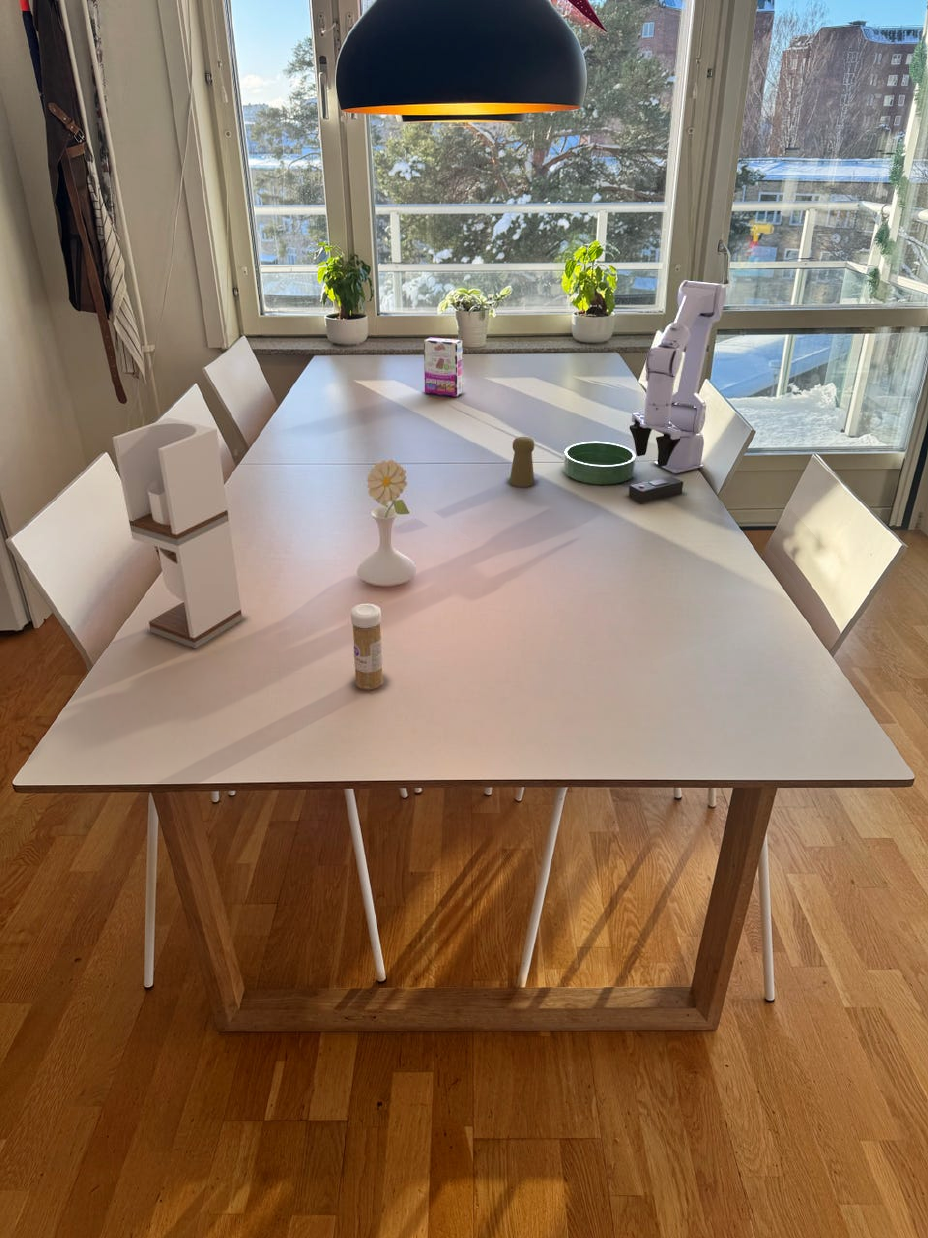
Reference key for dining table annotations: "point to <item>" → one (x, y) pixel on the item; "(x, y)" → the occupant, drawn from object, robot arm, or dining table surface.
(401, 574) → the flower in vase
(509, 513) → the dining table surface
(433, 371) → the candy bar box
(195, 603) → the white tiered shelf stand
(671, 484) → the remote
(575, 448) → the bowl
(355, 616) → the sprinkles bottle
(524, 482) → the cork
